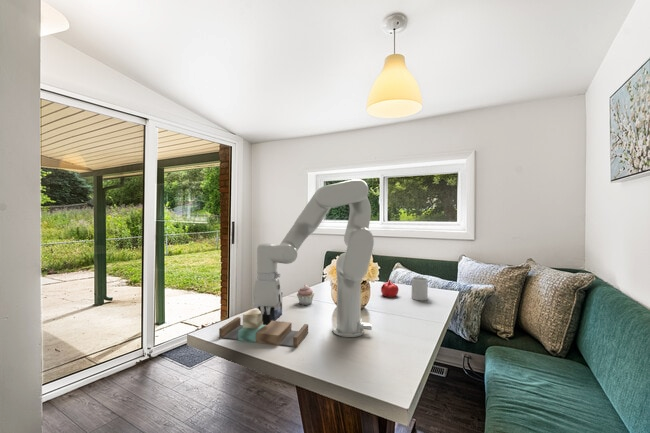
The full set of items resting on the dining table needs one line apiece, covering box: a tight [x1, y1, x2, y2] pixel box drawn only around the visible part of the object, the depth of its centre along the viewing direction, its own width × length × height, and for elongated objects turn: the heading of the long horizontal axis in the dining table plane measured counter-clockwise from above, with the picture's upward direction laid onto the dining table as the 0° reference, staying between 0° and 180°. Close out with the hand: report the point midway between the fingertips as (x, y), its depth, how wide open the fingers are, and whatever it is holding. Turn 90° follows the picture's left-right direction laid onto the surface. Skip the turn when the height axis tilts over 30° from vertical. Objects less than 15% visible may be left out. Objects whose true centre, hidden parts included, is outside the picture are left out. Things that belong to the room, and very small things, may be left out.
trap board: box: [218, 316, 309, 348], centre depth 117 cm, size 31×13×4 cm, turn 76°
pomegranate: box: [380, 279, 399, 298], centre depth 175 cm, size 10×10×9 cm
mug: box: [411, 276, 429, 301], centre depth 171 cm, size 12×8×11 cm
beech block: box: [242, 309, 263, 329], centre depth 118 cm, size 6×6×5 cm
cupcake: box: [296, 284, 315, 306], centre depth 159 cm, size 9×9×10 cm
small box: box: [267, 291, 283, 321], centre depth 137 cm, size 11×6×10 cm, turn 168°
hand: (266, 323), depth 117 cm, fingers closed
